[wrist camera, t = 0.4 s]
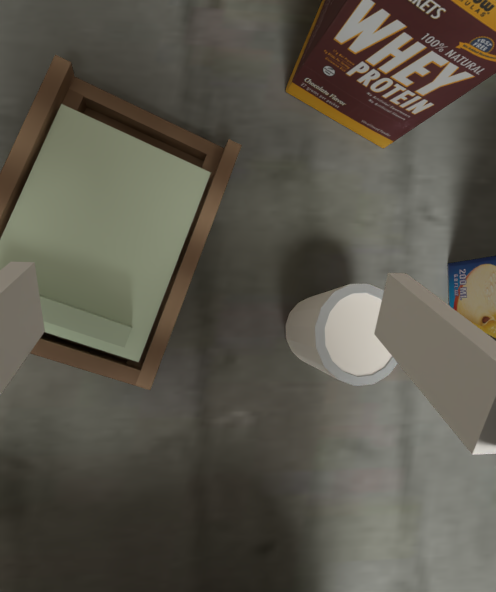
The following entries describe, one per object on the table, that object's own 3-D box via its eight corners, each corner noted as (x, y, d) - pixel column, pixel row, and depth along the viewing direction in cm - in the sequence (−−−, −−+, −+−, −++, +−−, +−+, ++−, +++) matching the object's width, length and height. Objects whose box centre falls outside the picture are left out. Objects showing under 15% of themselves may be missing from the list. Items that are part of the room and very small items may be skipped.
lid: (138, 360, 27) (139, 369, 23) (-25, 308, 25) (-58, 306, 20) (208, 177, 29) (221, 153, 25) (63, 111, 27) (50, 72, 22)
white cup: (324, 273, 34) (371, 262, 27) (367, 338, 34) (424, 343, 28) (261, 321, 32) (295, 323, 25) (309, 389, 33) (354, 408, 26)
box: (148, 381, 29) (150, 390, 26) (-43, 321, 26) (-69, 322, 23) (230, 163, 32) (241, 145, 28) (64, 85, 29) (55, 54, 25)
